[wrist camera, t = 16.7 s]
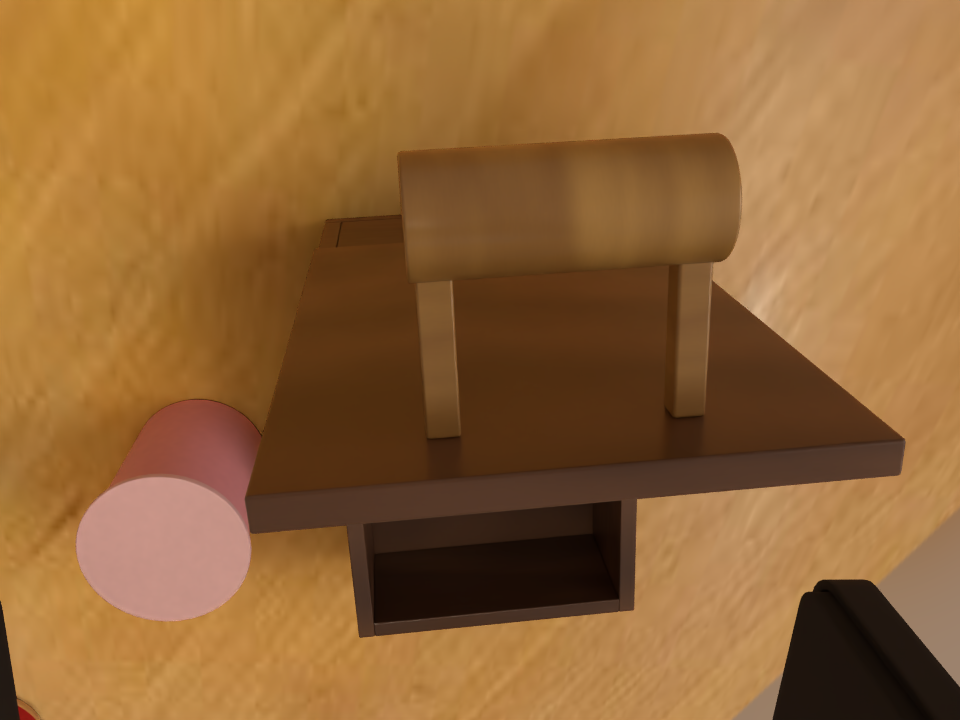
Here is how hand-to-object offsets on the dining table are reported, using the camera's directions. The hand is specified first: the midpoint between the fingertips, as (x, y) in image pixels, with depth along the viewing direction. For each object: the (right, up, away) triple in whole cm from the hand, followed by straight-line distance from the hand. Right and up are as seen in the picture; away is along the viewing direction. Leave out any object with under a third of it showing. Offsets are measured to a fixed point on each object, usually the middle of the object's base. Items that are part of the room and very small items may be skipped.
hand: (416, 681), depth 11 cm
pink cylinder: (-12, -1, +32) cm, 34 cm away
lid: (+2, +4, +15) cm, 15 cm away
